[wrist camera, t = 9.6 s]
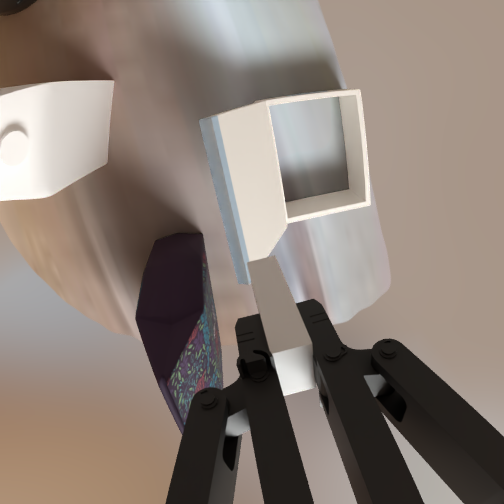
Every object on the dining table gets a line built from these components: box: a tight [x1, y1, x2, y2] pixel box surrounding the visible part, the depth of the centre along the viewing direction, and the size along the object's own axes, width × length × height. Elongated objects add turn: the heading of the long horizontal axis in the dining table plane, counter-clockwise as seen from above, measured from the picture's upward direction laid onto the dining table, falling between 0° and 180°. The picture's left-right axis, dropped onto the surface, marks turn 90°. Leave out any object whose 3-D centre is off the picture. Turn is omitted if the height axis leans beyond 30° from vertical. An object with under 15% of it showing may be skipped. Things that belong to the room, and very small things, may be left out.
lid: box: [199, 101, 287, 284], centre depth 33 cm, size 16×13×1 cm
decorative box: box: [135, 233, 223, 435], centre depth 39 cm, size 8×16×28 cm, turn 4°
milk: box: [0, 80, 115, 201], centre depth 26 cm, size 12×12×26 cm
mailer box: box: [254, 89, 370, 224], centre depth 42 cm, size 16×13×6 cm
